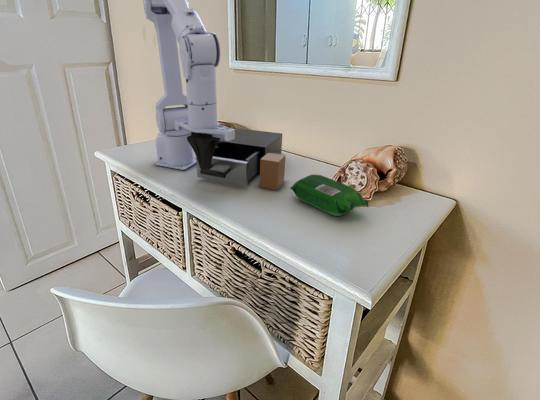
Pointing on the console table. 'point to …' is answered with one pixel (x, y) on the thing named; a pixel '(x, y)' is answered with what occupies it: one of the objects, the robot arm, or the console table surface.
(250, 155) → the drawer
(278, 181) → the tan upright block
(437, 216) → the console table surface
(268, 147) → the grey drawer cabinet
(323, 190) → the snack package
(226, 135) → the robot arm
